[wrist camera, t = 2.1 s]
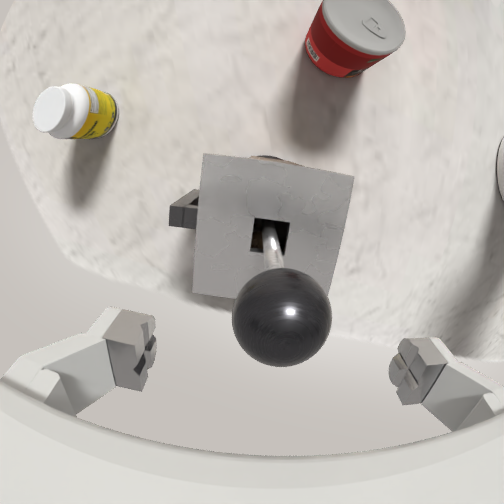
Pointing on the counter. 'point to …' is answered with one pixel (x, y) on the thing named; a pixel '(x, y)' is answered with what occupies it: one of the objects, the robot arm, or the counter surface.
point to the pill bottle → (75, 112)
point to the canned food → (353, 35)
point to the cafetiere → (266, 207)
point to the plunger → (280, 305)
